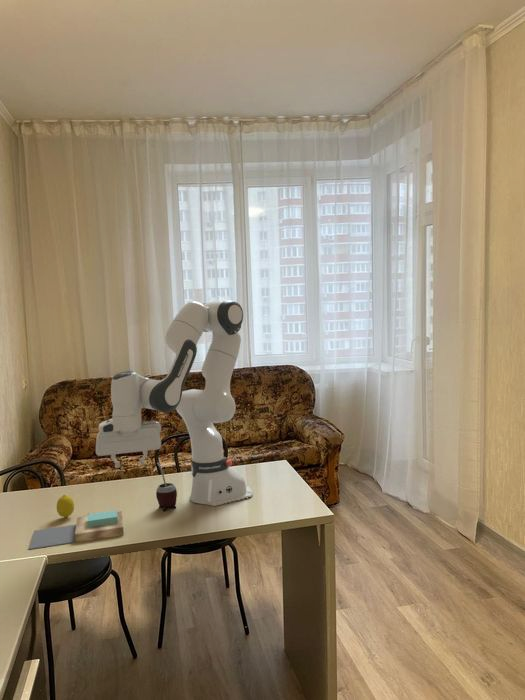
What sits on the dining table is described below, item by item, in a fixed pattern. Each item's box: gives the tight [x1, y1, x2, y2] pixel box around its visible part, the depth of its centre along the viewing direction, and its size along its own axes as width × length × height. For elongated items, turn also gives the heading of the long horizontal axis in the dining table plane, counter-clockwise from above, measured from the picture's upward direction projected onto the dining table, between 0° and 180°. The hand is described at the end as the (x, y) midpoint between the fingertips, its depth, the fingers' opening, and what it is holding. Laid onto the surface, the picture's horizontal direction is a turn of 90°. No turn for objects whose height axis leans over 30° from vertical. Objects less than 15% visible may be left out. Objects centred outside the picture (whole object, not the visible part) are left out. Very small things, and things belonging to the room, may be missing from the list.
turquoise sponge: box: [87, 509, 118, 527], centre depth 170 cm, size 9×6×2 cm, turn 106°
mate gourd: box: [155, 461, 178, 512], centre depth 186 cm, size 8×8×15 cm
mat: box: [28, 523, 76, 550], centre depth 166 cm, size 13×14×1 cm
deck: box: [75, 510, 125, 543], centre depth 170 cm, size 14×14×2 cm
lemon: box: [56, 494, 75, 519], centre depth 181 cm, size 6×6×8 cm
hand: (130, 465), depth 171 cm, fingers open, 6 cm apart
